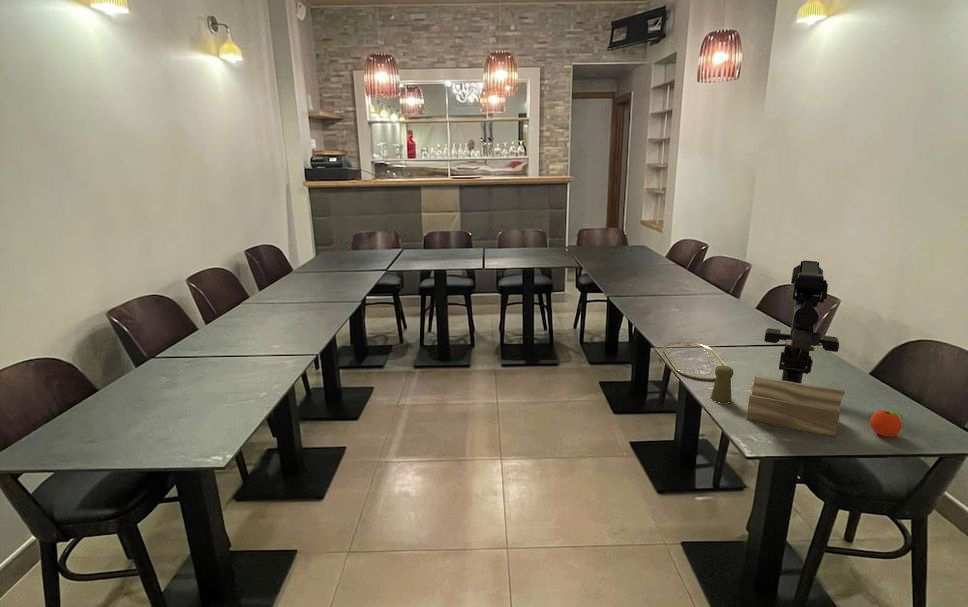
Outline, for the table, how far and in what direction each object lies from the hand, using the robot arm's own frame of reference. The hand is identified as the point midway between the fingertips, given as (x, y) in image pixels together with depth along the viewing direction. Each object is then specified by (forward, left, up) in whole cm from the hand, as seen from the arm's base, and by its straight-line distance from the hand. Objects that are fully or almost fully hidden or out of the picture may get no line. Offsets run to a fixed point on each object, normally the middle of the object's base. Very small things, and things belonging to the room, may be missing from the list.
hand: (796, 366), depth 160 cm
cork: (+5, -19, -13) cm, 24 cm away
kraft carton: (+9, 0, -13) cm, 16 cm away
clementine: (+7, +23, -13) cm, 27 cm away
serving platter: (-24, -31, -14) cm, 42 cm away
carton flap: (+18, 0, -1) cm, 18 cm away
